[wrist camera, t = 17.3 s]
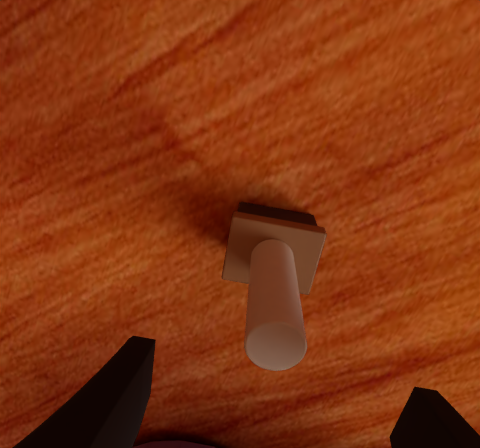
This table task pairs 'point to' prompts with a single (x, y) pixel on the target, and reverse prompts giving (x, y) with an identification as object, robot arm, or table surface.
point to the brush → (273, 279)
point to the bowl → (172, 445)
